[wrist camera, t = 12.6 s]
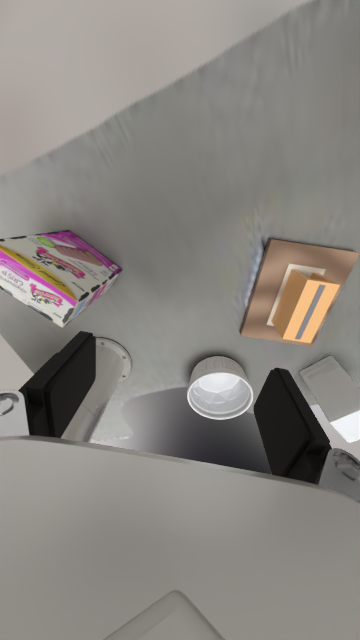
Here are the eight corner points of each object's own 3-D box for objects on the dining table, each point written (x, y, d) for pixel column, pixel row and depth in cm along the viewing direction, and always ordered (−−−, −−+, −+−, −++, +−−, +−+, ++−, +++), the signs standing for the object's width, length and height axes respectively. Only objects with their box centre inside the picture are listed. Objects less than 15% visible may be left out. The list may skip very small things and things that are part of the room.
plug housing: (295, 325, 40) (310, 343, 35) (271, 321, 40) (282, 339, 35) (319, 273, 36) (340, 285, 30) (291, 268, 36) (307, 279, 30)
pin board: (308, 342, 43) (319, 356, 39) (239, 331, 44) (243, 344, 40) (354, 251, 35) (373, 256, 31) (268, 238, 35) (277, 242, 31)
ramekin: (245, 394, 52) (252, 420, 45) (191, 396, 53) (189, 420, 47) (247, 349, 46) (255, 371, 39) (185, 352, 47) (183, 373, 41)
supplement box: (297, 371, 47) (328, 422, 36) (331, 353, 44) (375, 403, 33) (314, 391, 49) (348, 444, 38) (347, 375, 46) (394, 428, 35)
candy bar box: (124, 267, 39) (80, 302, 25) (110, 287, 42) (63, 330, 27) (68, 226, 37) (-16, 238, 22) (57, 250, 39) (-27, 275, 24)
